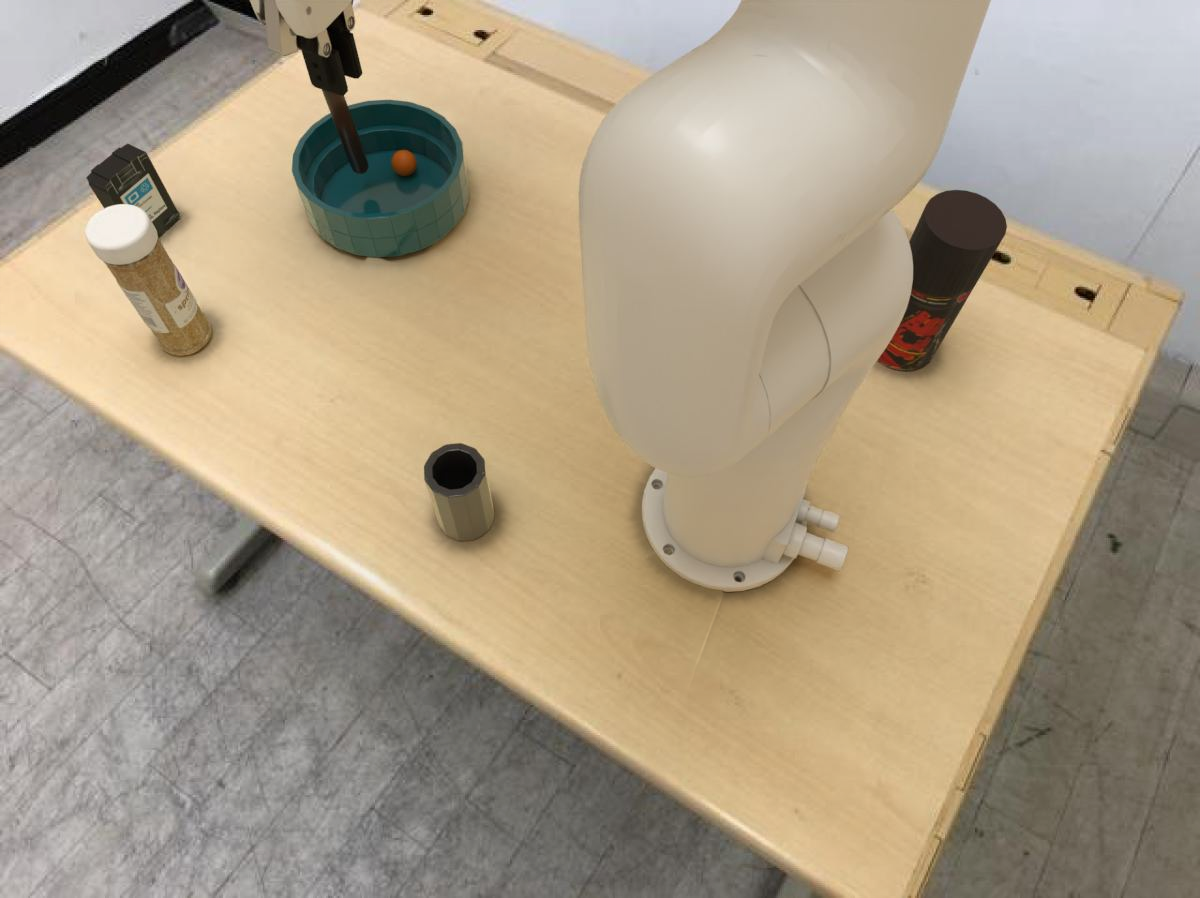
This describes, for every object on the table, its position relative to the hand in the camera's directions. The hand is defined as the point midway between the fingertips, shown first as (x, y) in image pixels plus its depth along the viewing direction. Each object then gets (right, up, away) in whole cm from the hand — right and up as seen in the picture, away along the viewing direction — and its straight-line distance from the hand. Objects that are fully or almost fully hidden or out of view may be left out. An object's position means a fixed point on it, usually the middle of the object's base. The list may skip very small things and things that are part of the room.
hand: (337, 79), depth 74 cm
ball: (+3, -4, +11) cm, 12 cm away
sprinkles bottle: (-14, -21, +2) cm, 25 cm away
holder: (+12, -36, -6) cm, 39 cm away
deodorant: (+48, -22, +3) cm, 53 cm away
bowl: (+2, -7, +10) cm, 13 cm away
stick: (0, -5, +9) cm, 10 cm away
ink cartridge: (-19, -11, +8) cm, 24 cm away
